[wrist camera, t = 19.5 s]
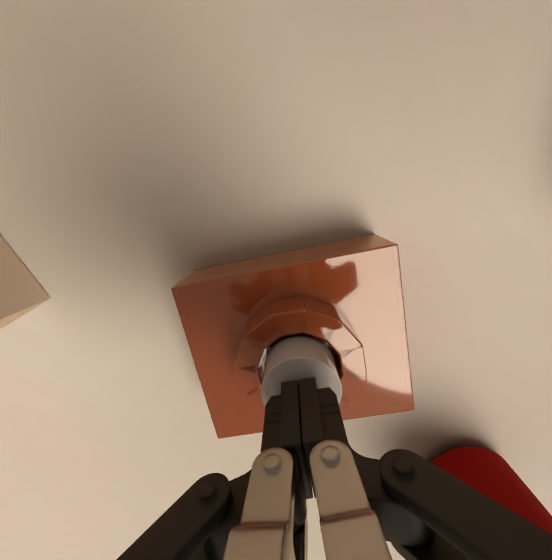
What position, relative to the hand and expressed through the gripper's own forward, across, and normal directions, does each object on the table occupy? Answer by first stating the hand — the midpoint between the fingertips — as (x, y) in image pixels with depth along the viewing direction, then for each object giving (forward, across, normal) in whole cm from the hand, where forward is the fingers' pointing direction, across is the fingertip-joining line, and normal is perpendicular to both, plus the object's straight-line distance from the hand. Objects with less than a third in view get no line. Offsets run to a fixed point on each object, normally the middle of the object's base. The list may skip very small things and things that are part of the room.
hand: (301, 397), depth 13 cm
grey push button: (+2, 0, 0) cm, 2 cm away
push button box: (+8, 0, 0) cm, 8 cm away
